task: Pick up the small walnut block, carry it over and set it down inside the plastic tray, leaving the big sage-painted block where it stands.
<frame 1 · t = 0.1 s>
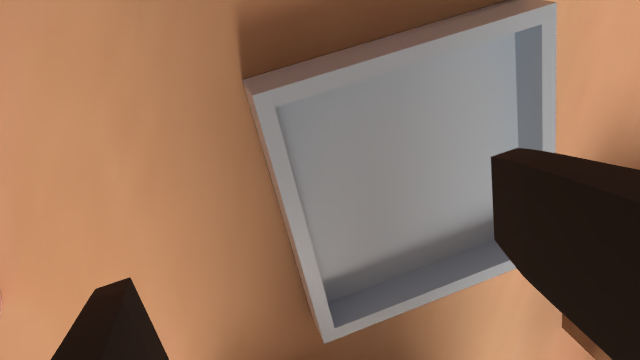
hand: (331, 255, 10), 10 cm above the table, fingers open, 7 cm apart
tray: (407, 167, 22), on the table
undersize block: (597, 282, 29), on the table
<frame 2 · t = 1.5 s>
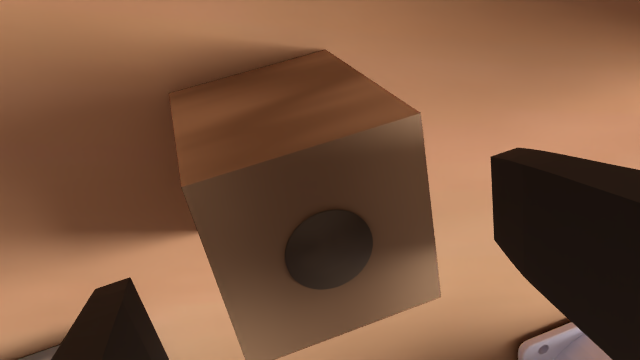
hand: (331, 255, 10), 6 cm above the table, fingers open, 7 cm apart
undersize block: (268, 143, 16), on the table
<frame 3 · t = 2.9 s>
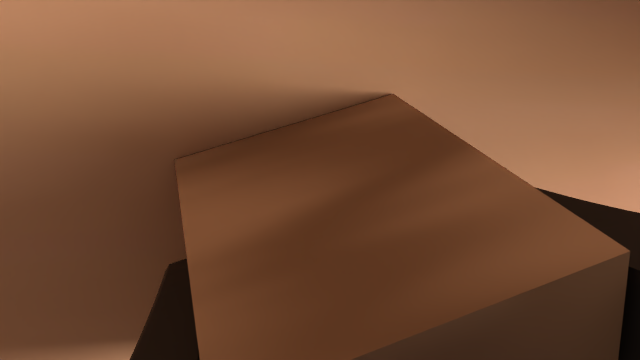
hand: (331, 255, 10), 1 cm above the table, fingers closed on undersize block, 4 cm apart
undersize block: (310, 220, 11), on the table, touching gripper
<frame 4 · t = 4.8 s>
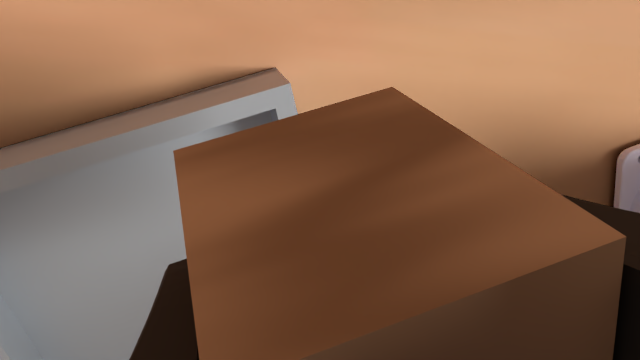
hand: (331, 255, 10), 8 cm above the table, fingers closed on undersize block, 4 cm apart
tray: (164, 262, 19), on the table
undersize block: (309, 213, 11), point 7 cm above the table, touching gripper
when the fingers open (3 cm above the table, at t = 7.0 s): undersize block drops 1 cm, resting on tray.
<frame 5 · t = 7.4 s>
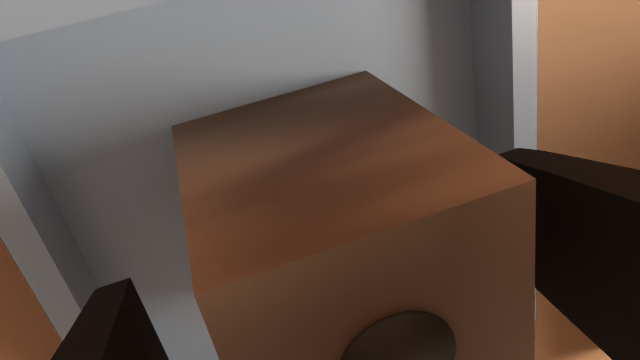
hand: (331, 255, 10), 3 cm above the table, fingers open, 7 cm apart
tray: (289, 182, 13), on the table
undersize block: (293, 184, 13), resting on tray
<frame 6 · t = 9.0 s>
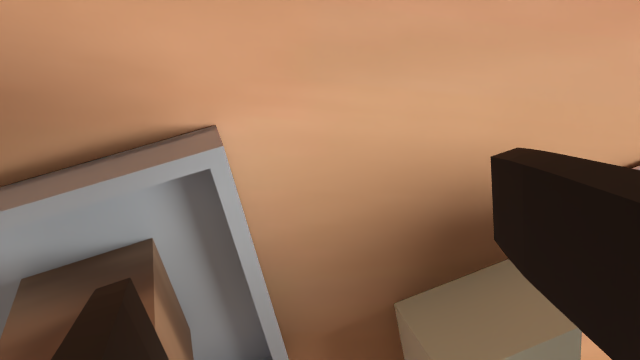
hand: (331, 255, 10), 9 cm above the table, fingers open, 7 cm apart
tray: (112, 302, 20), on the table
oversize block: (456, 325, 26), on the table
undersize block: (112, 306, 19), resting on tray
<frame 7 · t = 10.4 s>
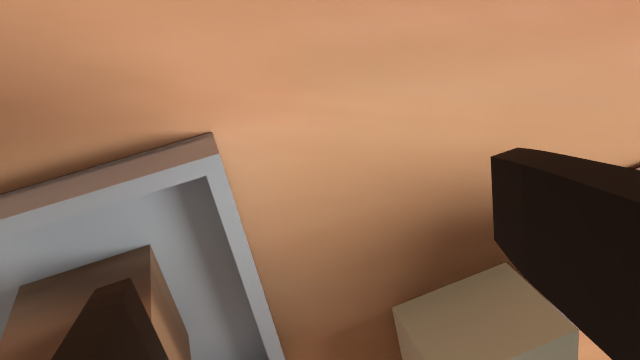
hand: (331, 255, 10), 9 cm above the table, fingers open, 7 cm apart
tray: (111, 308, 20), on the table
oversize block: (454, 328, 26), on the table
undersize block: (110, 312, 19), resting on tray
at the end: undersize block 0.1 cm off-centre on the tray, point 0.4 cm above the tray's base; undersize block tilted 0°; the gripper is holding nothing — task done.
